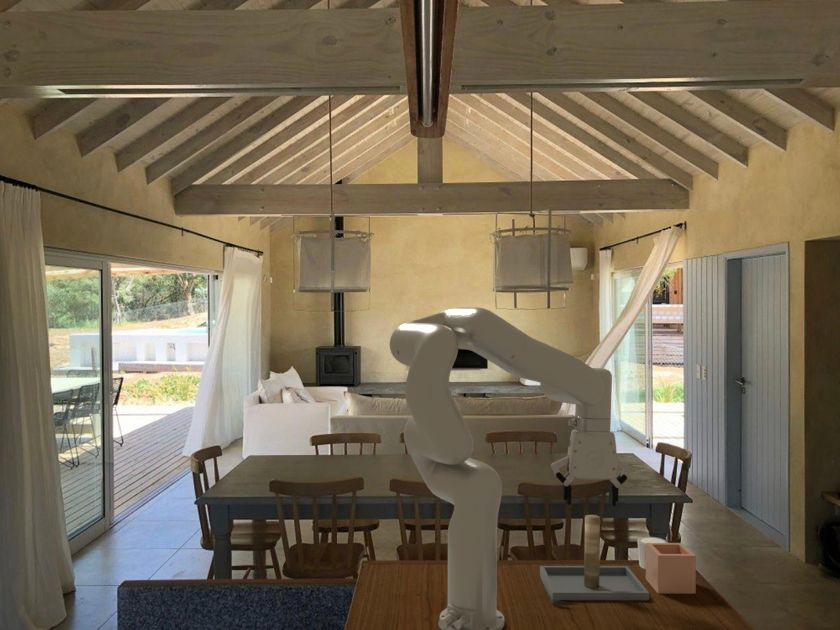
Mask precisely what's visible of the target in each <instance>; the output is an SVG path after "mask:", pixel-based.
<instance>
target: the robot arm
mask: <svg viewBox="0 0 840 630" xmlns="http://www.w3.org/2000/svg"><path fill="white" fill-rule="evenodd" d="M389 348H390V349H389V350H390V353H391V354H392V357H393V359H395V360H396V361H397V362H399V363H400V364H401V365H405V366H409V368H408V372H407V375H406V376H407V377H406V380H405V384H404V398H405V401H406V405H407V407H408V410H409V412H410V414H411V415H410V416H409V417H408V418H407V420H406V423H405V424H404V430H403V441H404V444H405V447H406V449H407V452H408V454H409V455H410V458H411V460H412V461H413V463H414V465H415V467H416V469H417V470H418V473H419V474H420V477H421V478H422V480H423V481H424V483H425V485H426V486H427V488H428V489H429V490H430V492H431V493H432V494H433V495H435V496H436V497H438V498H439V499H441V500H443V501H445V502H448V503H450V504H452V505H453V507H454V508H453V512H452V515H451V517H450V520H449V523H448V529H447V605H446V608H445V609H443V610H442V611H441V612H440V614H439V620H438V623H437V624H438V628H439V629H440V630H503V628H504V627H505V616H504V614H503V613H502V612H501V611H499V610H498V609H497V603H498V602H497V601H498V600H497V599H498V598H497V595H498V593H497V591H498V590H497V587H498V586H497V585H498V584H497V580H498V579H497V577H498V573H497V572H498V568H497V567H498V566H497V564H498V560H497V559H498V558H497V557H498V543H497V542H498V541H497V540H498V536H497V535H498V520H499V518H498V517H499V512H500V511H499V510H500V505H501V500H502V494H503V483H502V480H501V477H500V475H499V474H498V472H497V470H496V469H494V468H493V467H492V466H491V465H489V464H488V463H485V462H483V461H481V460H477V459H474V458H471V456H472V453H473V451H474V438H473V435H472V433H471V430H470V428H469V427H468V424H467V422H466V420H465V418H464V416H463V414H462V412H461V410H460V408H459V406H458V404H457V402H456V401H455V398H454V396H453V394H452V391H451V388H450V376H451V372H452V369H453V366H454V363H455V362H456V359H457V357H458V356H457V355H458V352H459V350H468V351H472V352H473V353H475V354H477V355H479V356H481V357H483V359H486V360H487V361H489V362H490V363H492V364H494V365H496V366H497V367H499V368H500V369H502V370H503V371H505V372H506V373H509V374H510V375H513V376H514V377H517V378H521V379H524V380H528V381H532V382H536V383H539V384H540V385H539V386H540V389H541V390H540V391H541V392H542V394H543V395H544V396H545V397H546V398H547V399H549V400H551V401H553V402H557V403H564V404H569V405H570V404H571V405H575V411H574V412H575V415H574V417H573V418H568V422H567V423H568V426H572V427H573V428H574V429H572V430H571V432H570V435H569V436H570V437H569V441H568V448H567V455H566V456H565V457H562V458H560V459H558V460H555V461H554V462H552V463H551V464H550V467H551V469H552V472H553V474H554V476H555V477H556V478H557V479H558V480H559V481H560V482H561V484H562V500H563V501H564V502H565V504H566V505H567V506H570V505H571V504H572V486H571V483H572V482H573V481H574V480H575V479H577V480H597V481H600V480H601V481H610V484H609V487H608V503H609V504H610V506H612V507H617V502H619V489H620V488H621V486H622V485H624V483H625V482H626V481H627V480H628V477H629V476H630V474H631V472H632V470H633V469H632V467H631V466H630V465H628V464H627V463H625V462H623V461H621V460H619V459H618V457H617V456H618V455H617V443H616V435H615V432H612V431H611V427H612V426H611V422H612V421H611V419H612V418H611V417H612V390H613V375H612V372H611V371H610V370H609V369H606V368H601V367H591V366H590V365H588V364H586V363H585V362H584V361H582V360H580V359H579V358H577V357H575V356H574V355H571V354H570V353H568V352H565V351H562V350H561V349H558V348H556V347H553V346H551V345H549V344H547V343H545V342H543V341H540V340H538V339H536V338H533V337H532V336H531V335H528V334H526V333H525V332H523V331H522V330H520V329H519V328H517V326H514V325H513V324H512V323H510V322H509V321H507V320H505V319H504V318H502V317H501V316H499V315H498V314H496V313H494V311H491V310H490V309H486V308H484V307H483V308H482V307H467V306H466V307H464V306H462V307H454V308H449V309H446V310H442V311H439V312H436V313H433V314H430V315H429V314H428V315H426V316H423V317H419V318H417V319H413V320H410V321H409V320H408V321H405V322H404V323H401V324H400V325H398V327H396V328H395V329H394V331H393V332H392V333H391V335H390V339H389ZM563 466H566V471H567V472H566V473H565V474H564V475H563V474H562V472H561V471H560V468H562V467H563ZM618 468H621V469H622V472H621V473H620V474H619V475H618ZM617 475H618V476H617Z"/></svg>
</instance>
